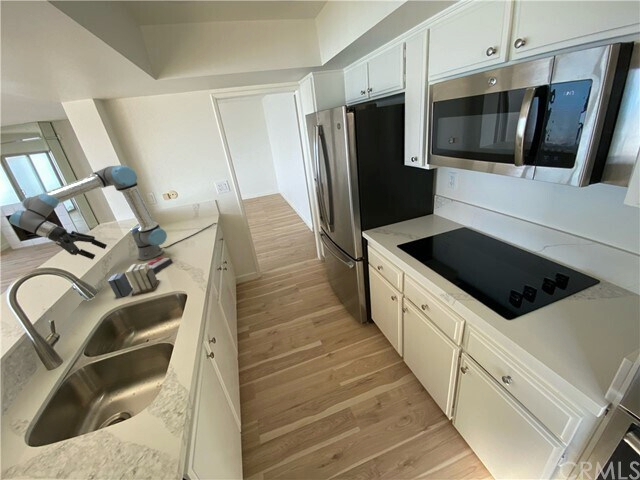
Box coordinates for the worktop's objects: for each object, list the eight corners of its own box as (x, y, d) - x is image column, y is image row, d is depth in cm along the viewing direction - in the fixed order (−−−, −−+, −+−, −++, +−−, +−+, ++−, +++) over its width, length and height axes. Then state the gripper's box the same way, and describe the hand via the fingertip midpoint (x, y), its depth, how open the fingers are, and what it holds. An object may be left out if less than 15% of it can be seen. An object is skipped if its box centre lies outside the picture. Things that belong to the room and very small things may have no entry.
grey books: (121, 291, 150) (113, 274, 145) (132, 288, 151) (124, 272, 146) (116, 298, 143) (107, 281, 139) (127, 295, 145) (119, 278, 140)
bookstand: (139, 285, 153) (129, 265, 148) (159, 281, 155) (150, 260, 150) (132, 296, 143) (121, 274, 138) (154, 291, 146) (144, 269, 140)
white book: (141, 284, 152) (132, 264, 147) (145, 283, 153) (136, 263, 147) (135, 292, 144) (125, 272, 139) (139, 291, 144) (130, 271, 139)
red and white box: (171, 257, 176) (152, 267, 163) (173, 263, 177) (154, 274, 164) (158, 257, 179) (139, 267, 166) (160, 262, 181) (141, 273, 167)
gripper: (63, 229, 144) (107, 248, 153) (32, 247, 122) (85, 268, 131) (70, 218, 143) (113, 238, 152) (39, 234, 121) (92, 256, 130)
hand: (100, 251), depth 142 cm, fingers open, 13 cm apart
